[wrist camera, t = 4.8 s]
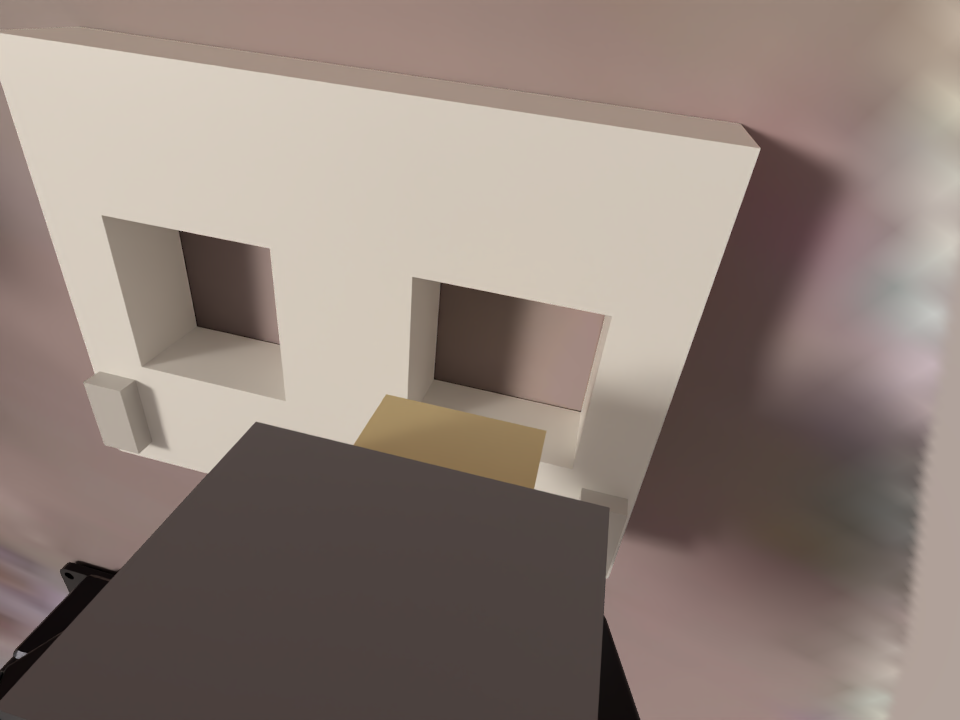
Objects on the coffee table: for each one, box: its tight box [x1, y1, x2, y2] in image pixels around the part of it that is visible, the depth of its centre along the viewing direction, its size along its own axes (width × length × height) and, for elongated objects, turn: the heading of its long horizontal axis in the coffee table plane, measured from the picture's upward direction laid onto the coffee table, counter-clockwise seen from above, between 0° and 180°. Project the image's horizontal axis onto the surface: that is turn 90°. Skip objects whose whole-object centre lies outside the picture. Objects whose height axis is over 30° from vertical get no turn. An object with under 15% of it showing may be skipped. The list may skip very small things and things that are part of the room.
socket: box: [0, 27, 761, 578], centre depth 15 cm, size 12×16×3 cm
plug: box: [0, 394, 610, 720], centre depth 8 cm, size 5×5×7 cm
